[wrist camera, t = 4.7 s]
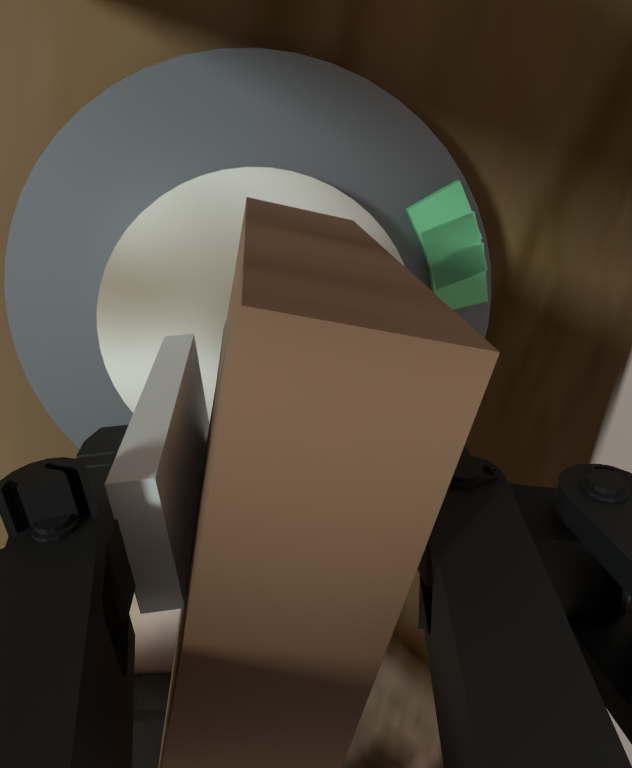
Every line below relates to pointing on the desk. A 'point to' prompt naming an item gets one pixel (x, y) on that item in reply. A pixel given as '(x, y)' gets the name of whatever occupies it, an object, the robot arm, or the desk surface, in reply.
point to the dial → (292, 449)
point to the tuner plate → (207, 154)
